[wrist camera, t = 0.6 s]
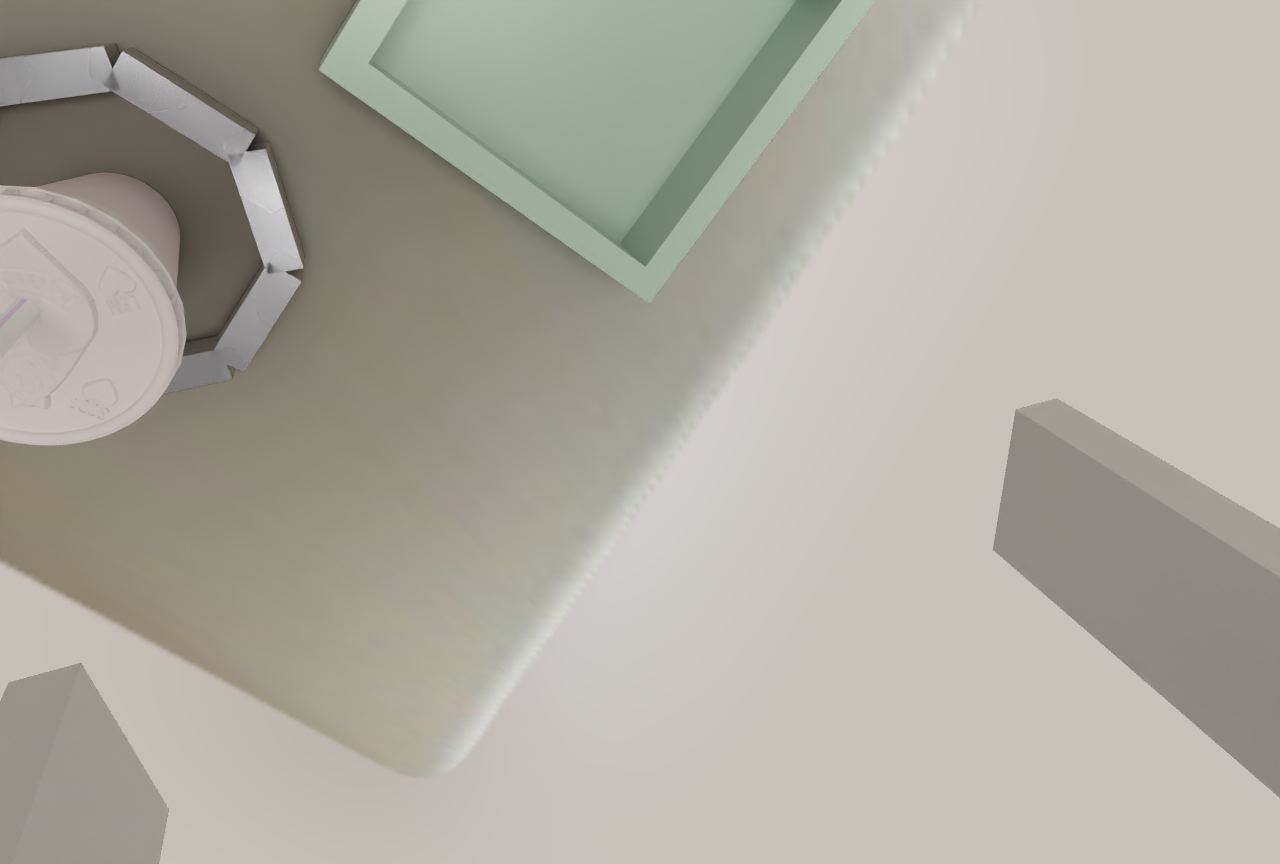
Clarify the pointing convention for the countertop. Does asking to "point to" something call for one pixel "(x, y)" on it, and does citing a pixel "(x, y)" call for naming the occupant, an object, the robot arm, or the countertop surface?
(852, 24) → the bin
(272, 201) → the collar
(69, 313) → the smoothie
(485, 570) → the countertop surface
